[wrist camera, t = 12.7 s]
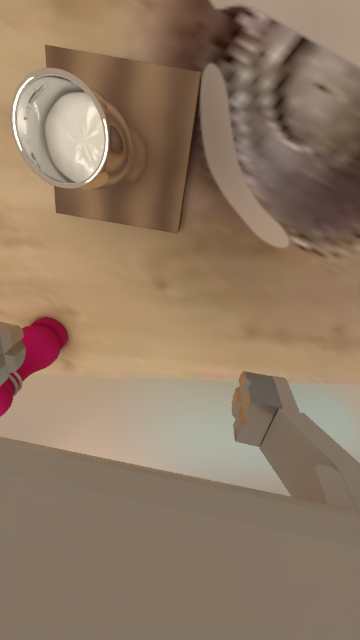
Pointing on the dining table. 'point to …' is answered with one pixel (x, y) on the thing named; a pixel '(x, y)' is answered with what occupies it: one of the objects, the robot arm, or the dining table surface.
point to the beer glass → (74, 133)
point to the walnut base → (152, 125)
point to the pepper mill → (34, 356)
